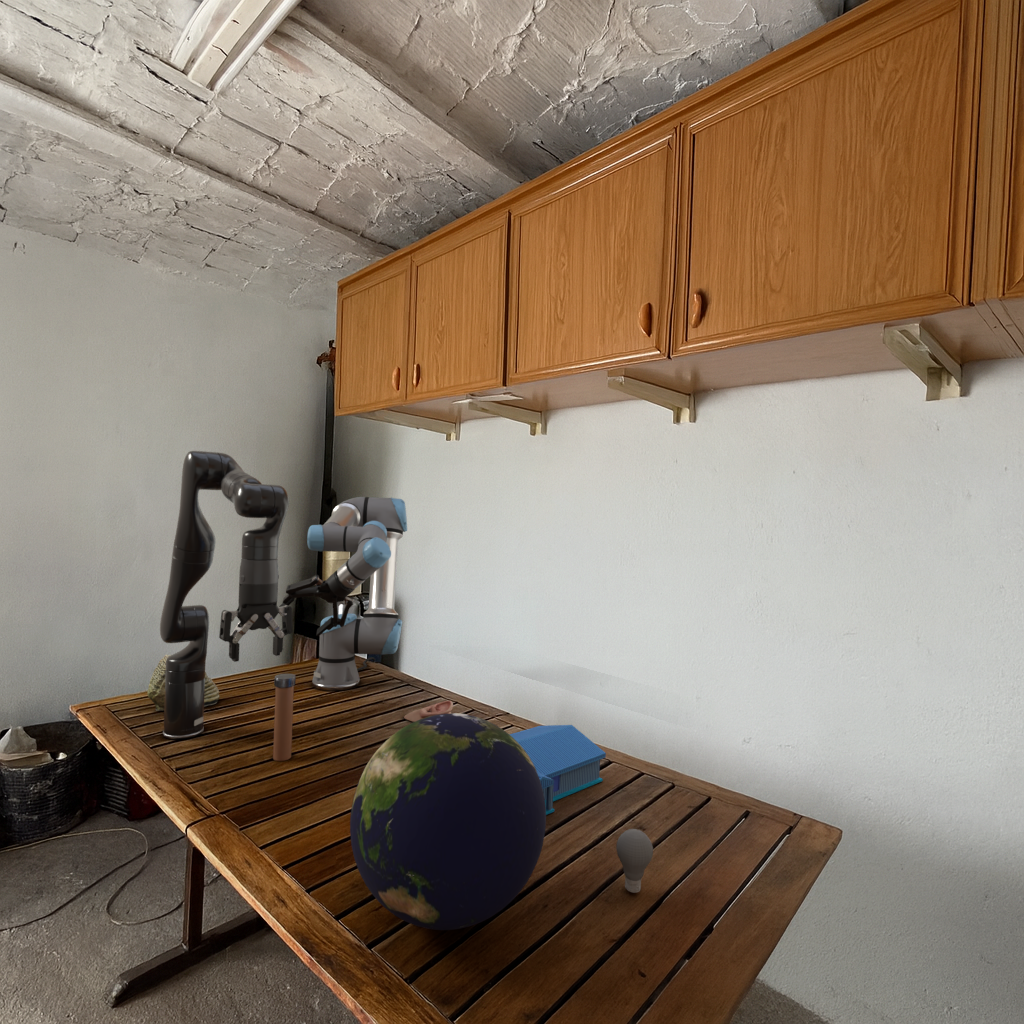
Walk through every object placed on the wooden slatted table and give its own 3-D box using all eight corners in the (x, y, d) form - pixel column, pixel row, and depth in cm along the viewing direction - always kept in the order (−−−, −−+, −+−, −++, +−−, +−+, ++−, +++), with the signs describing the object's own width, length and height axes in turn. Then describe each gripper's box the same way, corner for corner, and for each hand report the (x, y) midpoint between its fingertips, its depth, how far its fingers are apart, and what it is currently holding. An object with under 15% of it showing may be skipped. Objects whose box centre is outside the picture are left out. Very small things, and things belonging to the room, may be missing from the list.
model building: (482, 842, 118) (484, 789, 118) (409, 793, 137) (411, 747, 136) (614, 785, 145) (616, 742, 145) (538, 751, 163) (540, 712, 163)
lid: (269, 685, 151) (270, 676, 151) (285, 680, 156) (286, 672, 156) (283, 689, 149) (284, 680, 149) (299, 684, 153) (300, 675, 153)
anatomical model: (400, 707, 180) (414, 695, 191) (399, 721, 180) (414, 708, 191) (445, 712, 177) (456, 700, 189) (444, 726, 177) (456, 713, 189)
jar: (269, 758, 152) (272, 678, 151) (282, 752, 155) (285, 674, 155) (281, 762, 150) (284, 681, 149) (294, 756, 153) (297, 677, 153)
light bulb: (610, 879, 108) (613, 822, 108) (644, 879, 109) (647, 822, 109) (619, 902, 102) (622, 840, 102) (655, 901, 103) (658, 840, 103)
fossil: (144, 707, 182) (145, 655, 182) (212, 696, 194) (213, 647, 194) (151, 716, 175) (153, 662, 175) (221, 703, 188) (223, 653, 188)
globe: (302, 941, 90) (310, 732, 90) (412, 840, 118) (419, 680, 117) (494, 1014, 79) (505, 776, 78) (565, 883, 107) (574, 707, 106)
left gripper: (284, 576, 139) (281, 649, 139) (216, 579, 129) (213, 658, 130) (299, 580, 134) (296, 656, 134) (230, 584, 124) (227, 667, 124)
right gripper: (308, 563, 171) (259, 608, 177) (379, 610, 182) (331, 650, 188) (312, 547, 177) (265, 591, 183) (380, 593, 189) (334, 633, 195)
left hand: (256, 657), depth 132 cm, fingers open, 8 cm apart
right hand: (298, 621), depth 186 cm, fingers open, 13 cm apart
